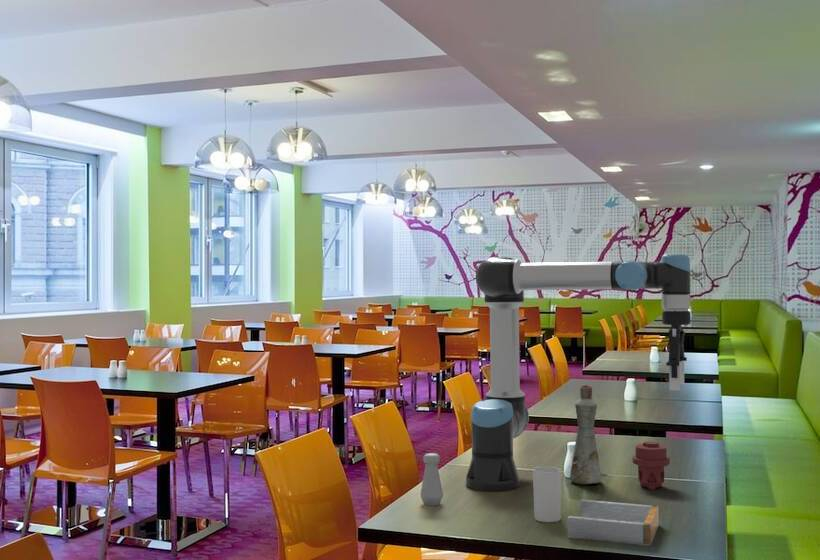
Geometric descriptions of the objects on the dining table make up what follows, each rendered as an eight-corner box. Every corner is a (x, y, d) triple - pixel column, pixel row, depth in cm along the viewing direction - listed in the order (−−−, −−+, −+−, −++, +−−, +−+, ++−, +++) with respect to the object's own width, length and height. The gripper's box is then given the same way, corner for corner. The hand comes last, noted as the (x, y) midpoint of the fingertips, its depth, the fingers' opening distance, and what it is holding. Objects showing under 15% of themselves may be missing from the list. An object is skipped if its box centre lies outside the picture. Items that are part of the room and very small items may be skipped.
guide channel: (567, 537, 194) (567, 517, 194) (582, 518, 209) (581, 499, 209) (650, 546, 187) (650, 525, 187) (658, 525, 203) (658, 506, 203)
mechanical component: (668, 483, 244) (671, 491, 234) (631, 482, 246) (633, 490, 236) (667, 439, 244) (671, 446, 234) (631, 438, 246) (633, 445, 236)
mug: (561, 523, 205) (560, 473, 205) (532, 522, 206) (532, 472, 206) (562, 512, 215) (561, 464, 215) (535, 511, 216) (534, 463, 216)
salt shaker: (427, 507, 220) (426, 457, 220) (416, 502, 225) (416, 453, 225) (447, 505, 223) (446, 454, 223) (436, 500, 228) (435, 450, 228)
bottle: (582, 487, 240) (581, 387, 240) (564, 480, 248) (562, 383, 248) (608, 484, 244) (606, 385, 244) (589, 477, 252) (588, 382, 252)
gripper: (686, 311, 225) (687, 393, 225) (693, 308, 248) (694, 382, 248) (657, 311, 228) (658, 392, 228) (666, 308, 251) (667, 381, 251)
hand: (677, 387), depth 238 cm, fingers open, 13 cm apart
